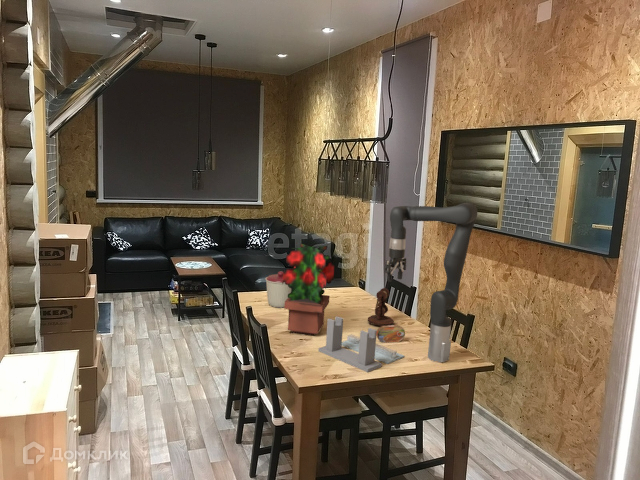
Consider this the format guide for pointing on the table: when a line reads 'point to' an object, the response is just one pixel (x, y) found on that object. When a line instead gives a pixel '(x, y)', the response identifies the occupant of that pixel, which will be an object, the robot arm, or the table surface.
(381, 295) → the brown statuette
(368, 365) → the rack
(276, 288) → the canister
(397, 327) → the tin
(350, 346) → the mat
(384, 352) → the steel bar
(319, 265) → the potted plant
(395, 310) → the table surface
